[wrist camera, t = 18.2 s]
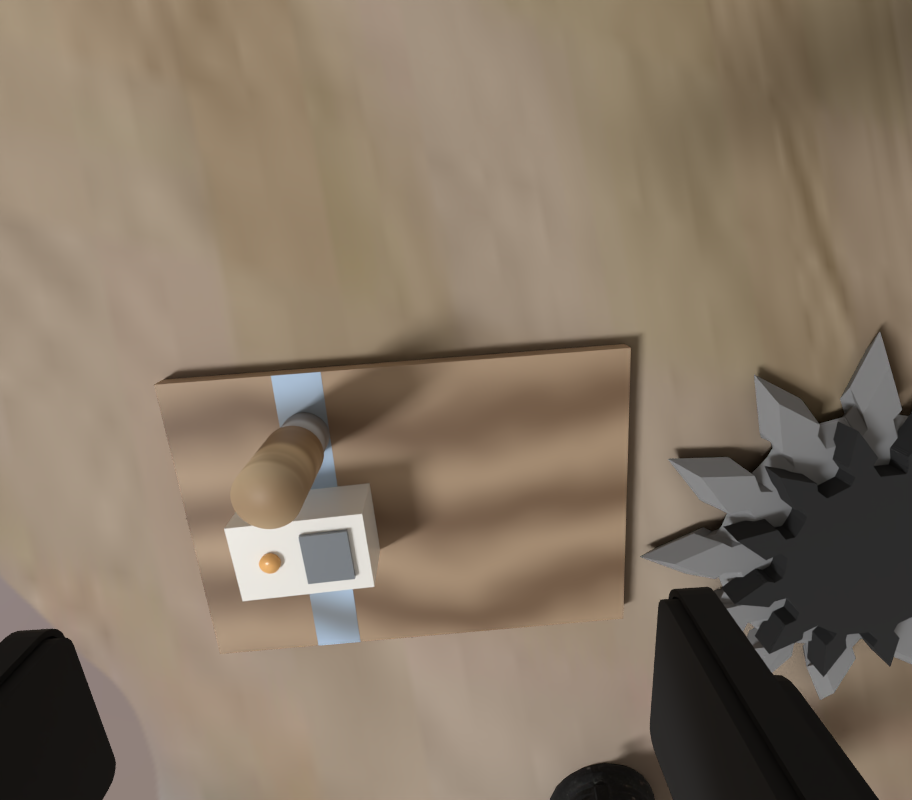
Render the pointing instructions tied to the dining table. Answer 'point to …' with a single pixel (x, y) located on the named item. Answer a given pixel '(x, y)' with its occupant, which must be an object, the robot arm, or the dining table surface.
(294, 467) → the awl
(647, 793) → the lantern
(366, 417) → the floor panel
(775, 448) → the decorative piece
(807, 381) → the dining table surface
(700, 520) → the dining table surface
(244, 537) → the block
